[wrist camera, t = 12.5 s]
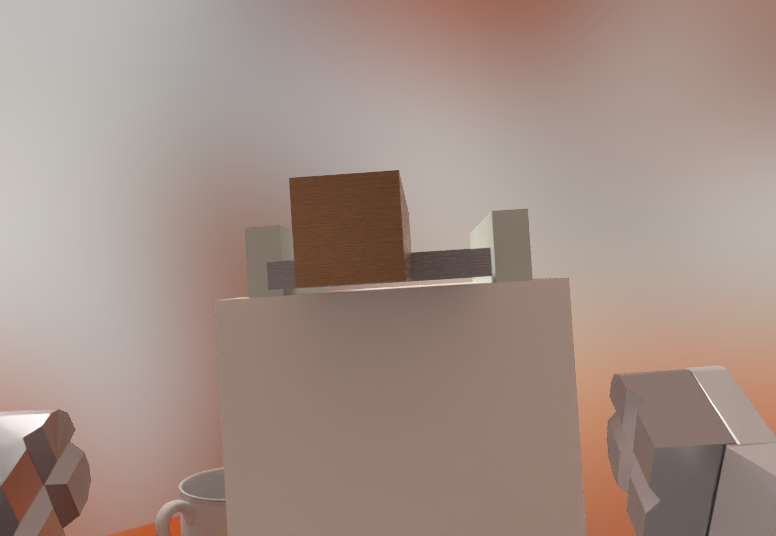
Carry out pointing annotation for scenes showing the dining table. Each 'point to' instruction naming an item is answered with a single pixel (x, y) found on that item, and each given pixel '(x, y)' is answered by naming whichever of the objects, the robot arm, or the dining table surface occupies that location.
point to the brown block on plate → (361, 237)
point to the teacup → (197, 506)
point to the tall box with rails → (401, 401)
